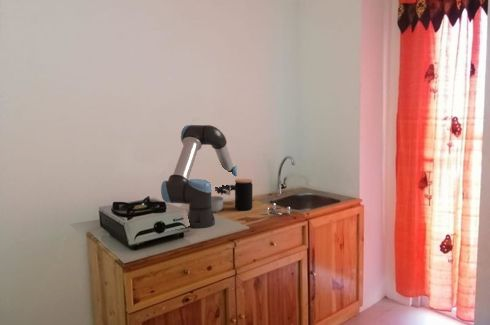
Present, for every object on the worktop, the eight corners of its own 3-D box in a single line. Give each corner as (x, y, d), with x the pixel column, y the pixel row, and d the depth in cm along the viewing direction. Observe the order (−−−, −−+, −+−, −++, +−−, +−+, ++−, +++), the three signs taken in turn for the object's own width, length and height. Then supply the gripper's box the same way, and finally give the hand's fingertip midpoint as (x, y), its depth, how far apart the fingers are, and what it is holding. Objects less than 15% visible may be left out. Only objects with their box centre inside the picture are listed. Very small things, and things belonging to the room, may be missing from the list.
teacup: (224, 209, 233) (224, 196, 232) (221, 213, 222) (221, 200, 221) (202, 208, 234) (202, 195, 233) (198, 212, 223) (198, 199, 222)
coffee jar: (238, 206, 239) (238, 178, 237) (254, 207, 236) (254, 179, 234) (232, 210, 229) (232, 181, 227) (249, 211, 226) (249, 181, 224)
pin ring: (274, 217, 213) (274, 210, 213) (258, 212, 224) (258, 205, 224) (290, 213, 221) (290, 207, 220) (274, 209, 232) (274, 202, 232)
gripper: (234, 190, 261) (253, 195, 245) (203, 194, 246) (222, 200, 229) (234, 179, 260) (254, 183, 244) (203, 183, 245) (222, 187, 228)
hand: (238, 191), depth 236 cm, fingers open, 13 cm apart
